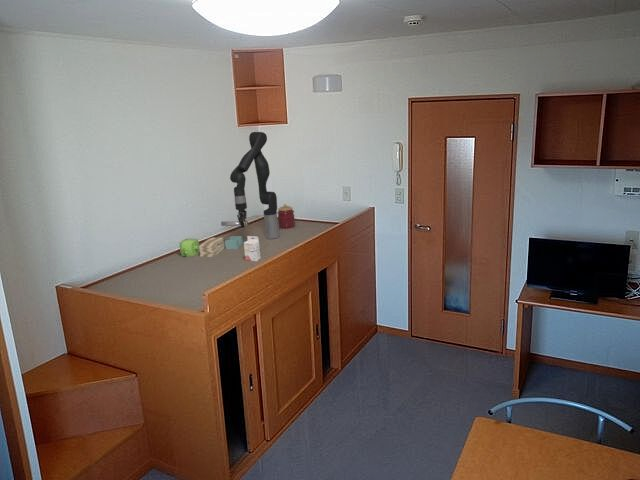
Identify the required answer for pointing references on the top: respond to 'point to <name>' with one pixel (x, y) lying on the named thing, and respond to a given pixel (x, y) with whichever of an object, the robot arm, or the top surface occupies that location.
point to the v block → (234, 242)
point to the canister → (286, 217)
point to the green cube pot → (189, 247)
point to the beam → (211, 247)
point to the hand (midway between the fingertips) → (243, 226)
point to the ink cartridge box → (252, 249)
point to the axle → (234, 223)
